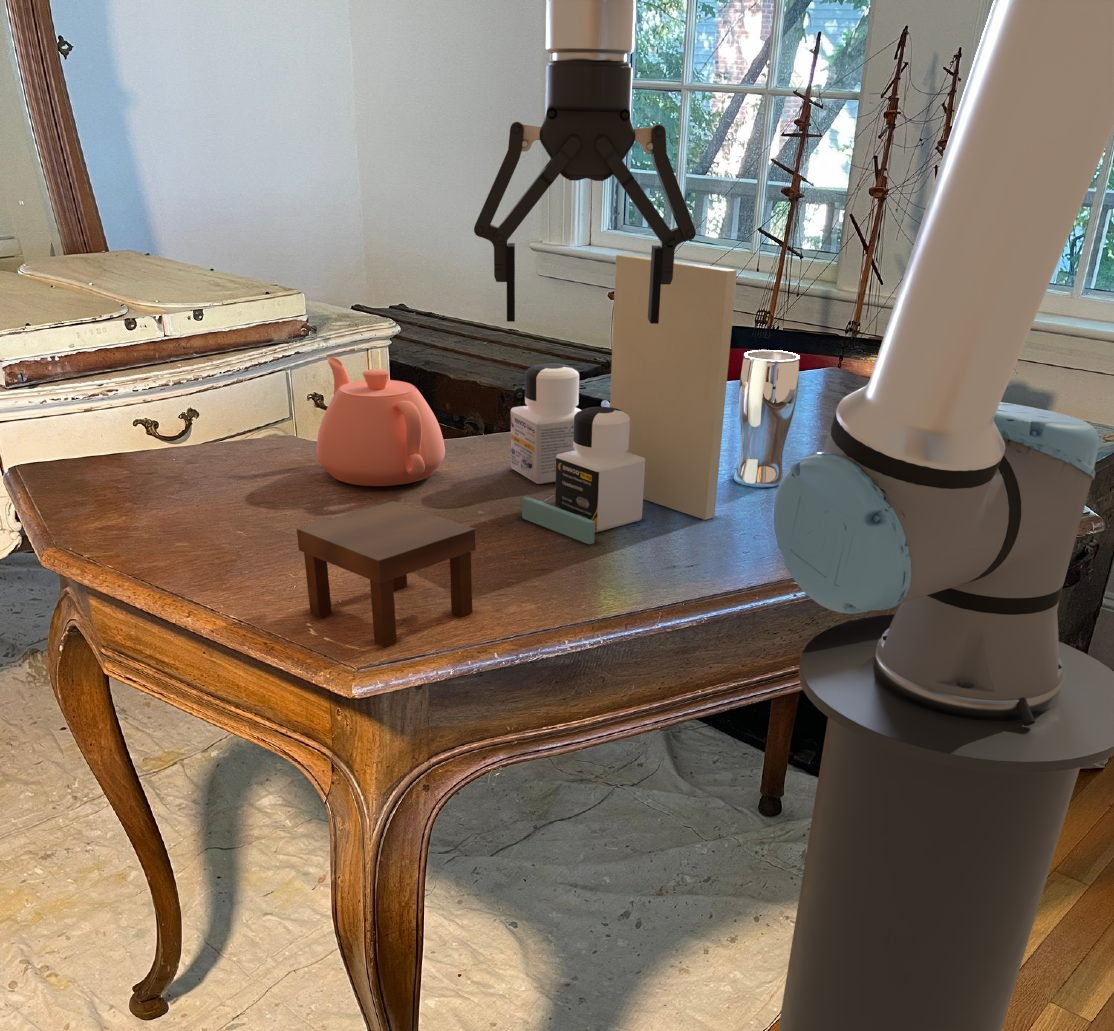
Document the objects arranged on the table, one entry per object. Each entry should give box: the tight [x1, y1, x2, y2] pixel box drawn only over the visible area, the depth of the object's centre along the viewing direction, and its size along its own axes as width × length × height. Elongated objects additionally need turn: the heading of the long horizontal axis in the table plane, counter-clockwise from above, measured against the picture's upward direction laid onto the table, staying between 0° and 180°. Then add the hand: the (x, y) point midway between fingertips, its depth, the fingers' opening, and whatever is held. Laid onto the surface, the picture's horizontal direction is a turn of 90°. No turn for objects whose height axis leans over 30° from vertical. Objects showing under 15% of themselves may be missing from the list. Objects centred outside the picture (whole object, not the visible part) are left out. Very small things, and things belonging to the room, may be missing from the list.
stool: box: [296, 500, 477, 648], centre depth 98 cm, size 11×11×8 cm
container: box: [510, 363, 582, 485], centre depth 135 cm, size 8×8×13 cm
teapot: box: [316, 356, 446, 487], centre depth 135 cm, size 22×16×12 cm
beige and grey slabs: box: [521, 253, 738, 545], centre depth 118 cm, size 16×17×26 cm
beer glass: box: [733, 349, 801, 489], centre depth 134 cm, size 7×7×15 cm
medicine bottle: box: [554, 406, 645, 533], centre depth 121 cm, size 7×7×12 cm
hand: (582, 320), depth 105 cm, fingers open, 13 cm apart
